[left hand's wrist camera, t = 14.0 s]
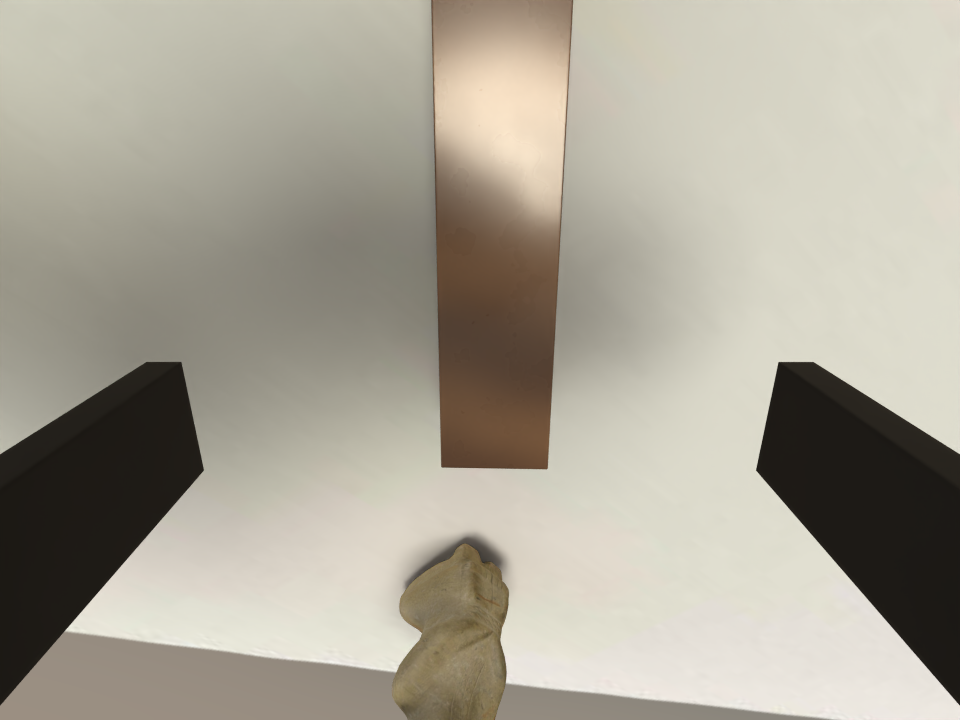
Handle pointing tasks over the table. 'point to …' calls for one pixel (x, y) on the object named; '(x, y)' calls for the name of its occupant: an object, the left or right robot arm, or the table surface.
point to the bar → (498, 222)
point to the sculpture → (454, 641)
